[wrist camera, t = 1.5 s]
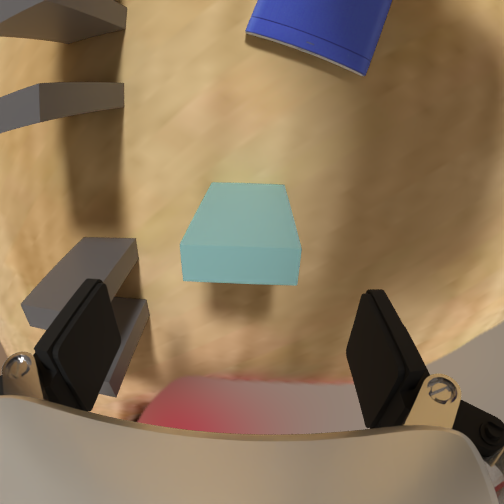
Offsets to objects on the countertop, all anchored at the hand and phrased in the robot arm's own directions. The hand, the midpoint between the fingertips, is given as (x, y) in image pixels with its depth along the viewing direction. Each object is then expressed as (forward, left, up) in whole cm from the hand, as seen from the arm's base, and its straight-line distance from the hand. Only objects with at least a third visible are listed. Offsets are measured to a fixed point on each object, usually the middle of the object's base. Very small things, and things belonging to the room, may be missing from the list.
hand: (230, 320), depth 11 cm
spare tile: (0, 0, -12) cm, 12 cm away
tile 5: (+12, -2, -12) cm, 17 cm away
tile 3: (+6, -12, -12) cm, 19 cm away
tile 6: (+14, +4, -12) cm, 19 cm away
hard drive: (-12, -12, -13) cm, 22 cm away
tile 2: (+4, -18, -12) cm, 22 cm away
